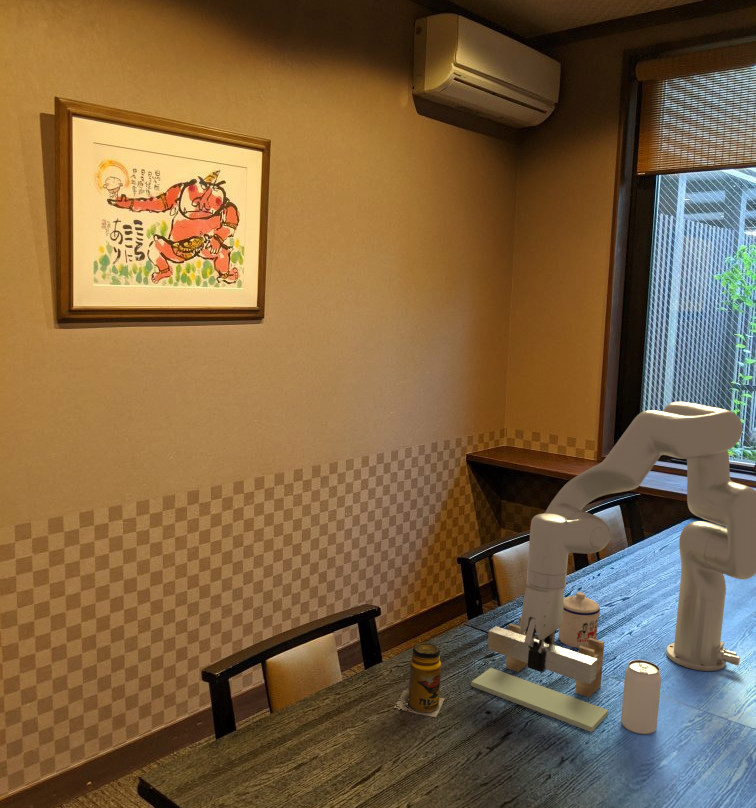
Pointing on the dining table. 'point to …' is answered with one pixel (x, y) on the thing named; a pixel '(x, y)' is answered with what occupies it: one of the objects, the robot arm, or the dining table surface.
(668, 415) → the robot arm
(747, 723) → the dining table surface
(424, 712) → the condiment
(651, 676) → the can
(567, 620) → the teacup with lid
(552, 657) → the rail
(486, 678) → the mat
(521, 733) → the dining table surface
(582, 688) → the post
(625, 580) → the dining table surface
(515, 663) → the post
